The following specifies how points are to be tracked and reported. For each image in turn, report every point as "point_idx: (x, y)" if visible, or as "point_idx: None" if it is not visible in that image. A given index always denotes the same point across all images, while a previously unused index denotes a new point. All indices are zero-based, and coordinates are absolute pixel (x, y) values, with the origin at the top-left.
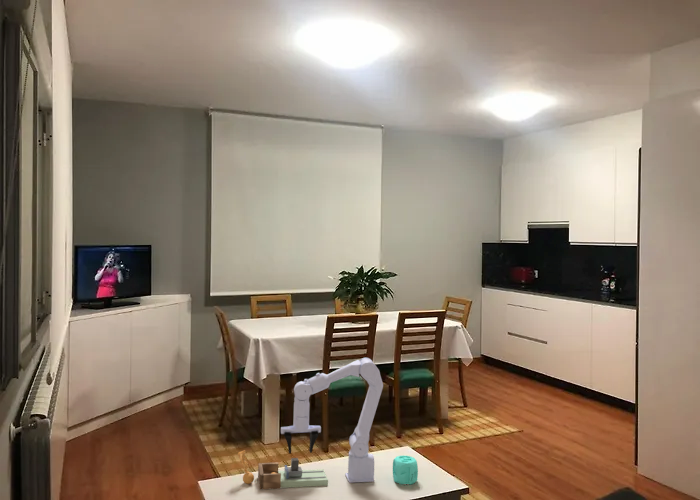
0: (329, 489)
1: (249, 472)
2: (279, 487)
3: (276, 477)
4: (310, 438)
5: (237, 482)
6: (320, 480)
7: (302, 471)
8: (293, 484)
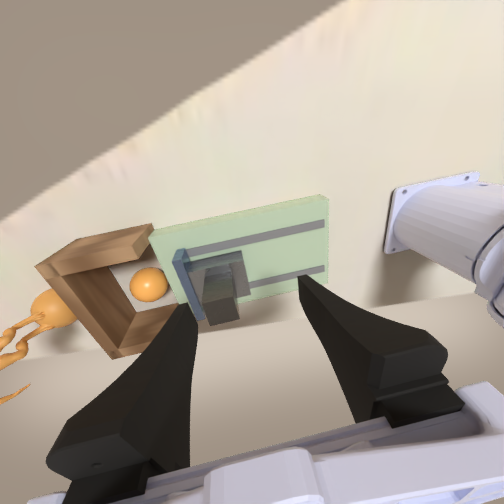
0: None
1: (47, 319)
2: None
3: None
4: (338, 345)
5: (28, 290)
6: None
7: (246, 229)
8: None
